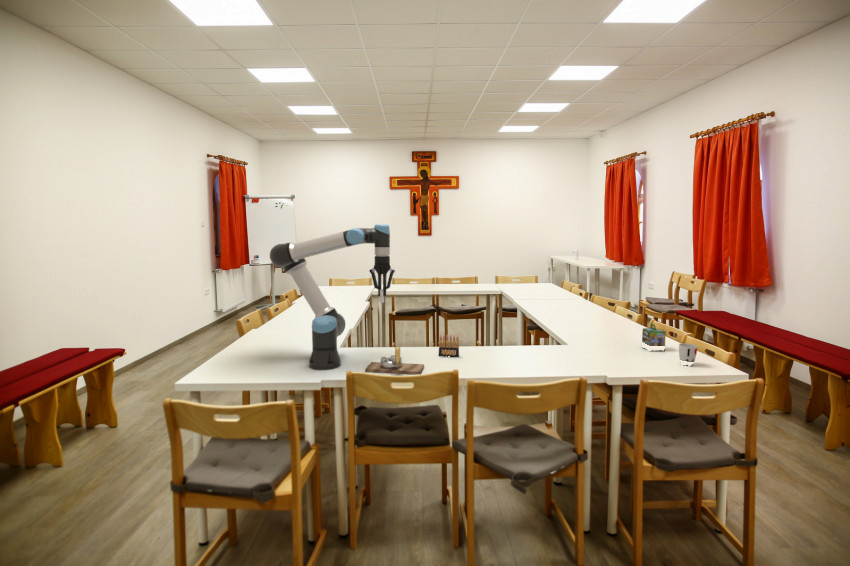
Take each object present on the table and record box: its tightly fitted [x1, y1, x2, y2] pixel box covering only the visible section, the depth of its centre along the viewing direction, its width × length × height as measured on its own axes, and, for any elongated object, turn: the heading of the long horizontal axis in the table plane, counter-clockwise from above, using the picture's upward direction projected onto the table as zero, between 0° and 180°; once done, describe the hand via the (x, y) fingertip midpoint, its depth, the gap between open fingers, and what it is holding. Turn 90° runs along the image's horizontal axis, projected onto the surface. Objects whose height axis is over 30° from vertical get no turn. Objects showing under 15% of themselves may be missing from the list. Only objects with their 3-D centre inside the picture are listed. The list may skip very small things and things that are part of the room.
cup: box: [678, 342, 698, 363], centre depth 237 cm, size 8×8×10 cm
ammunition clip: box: [437, 333, 460, 358], centre depth 248 cm, size 11×2×12 cm, turn 82°
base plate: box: [364, 361, 425, 375], centre depth 225 cm, size 26×12×2 cm, turn 82°
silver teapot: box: [379, 346, 403, 369], centre depth 223 cm, size 14×10×11 cm
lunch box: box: [641, 322, 667, 347], centre depth 266 cm, size 9×9×15 cm
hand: (382, 302), depth 239 cm, fingers closed
